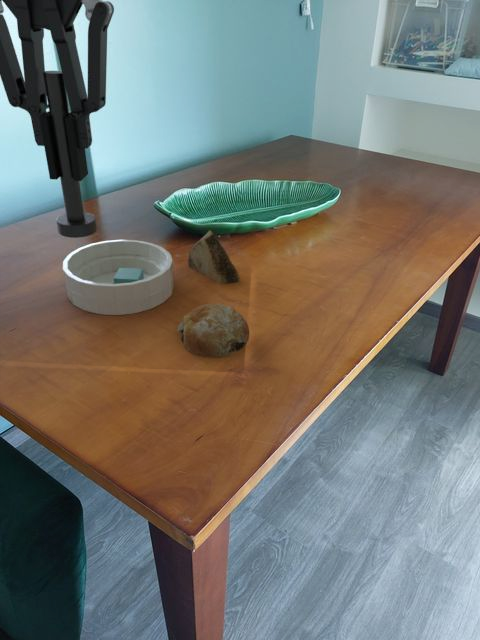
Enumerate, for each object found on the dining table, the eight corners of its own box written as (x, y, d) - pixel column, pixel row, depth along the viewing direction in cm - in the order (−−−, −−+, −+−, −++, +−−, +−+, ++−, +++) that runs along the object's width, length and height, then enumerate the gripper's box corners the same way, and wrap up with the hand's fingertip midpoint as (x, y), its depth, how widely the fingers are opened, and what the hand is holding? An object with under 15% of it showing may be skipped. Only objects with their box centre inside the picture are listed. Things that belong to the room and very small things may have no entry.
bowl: (53, 316, 85) (46, 282, 81) (85, 267, 99) (81, 237, 96) (164, 322, 85) (162, 288, 82) (180, 272, 100) (179, 242, 96)
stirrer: (52, 236, 62) (23, 73, 52) (65, 222, 66) (39, 67, 56) (90, 239, 62) (67, 76, 52) (101, 224, 66) (81, 70, 56)
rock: (171, 256, 100) (181, 272, 91) (197, 217, 98) (209, 230, 90) (217, 284, 105) (231, 302, 97) (242, 248, 104) (258, 263, 95)
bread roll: (210, 385, 78) (231, 353, 73) (160, 339, 79) (176, 304, 74) (248, 354, 85) (269, 322, 80) (201, 312, 86) (218, 278, 81)
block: (116, 300, 88) (113, 278, 86) (121, 288, 92) (119, 267, 89) (140, 301, 89) (138, 279, 86) (144, 289, 92) (143, 268, 90)
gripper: (124, -84, 50) (143, 170, 63) (-37, -94, 50) (16, 163, 63) (101, -93, 44) (128, 191, 57) (-82, -105, 44) (-13, 182, 57)
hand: (69, 176), depth 60 cm, fingers closed on stirrer, 2 cm apart
